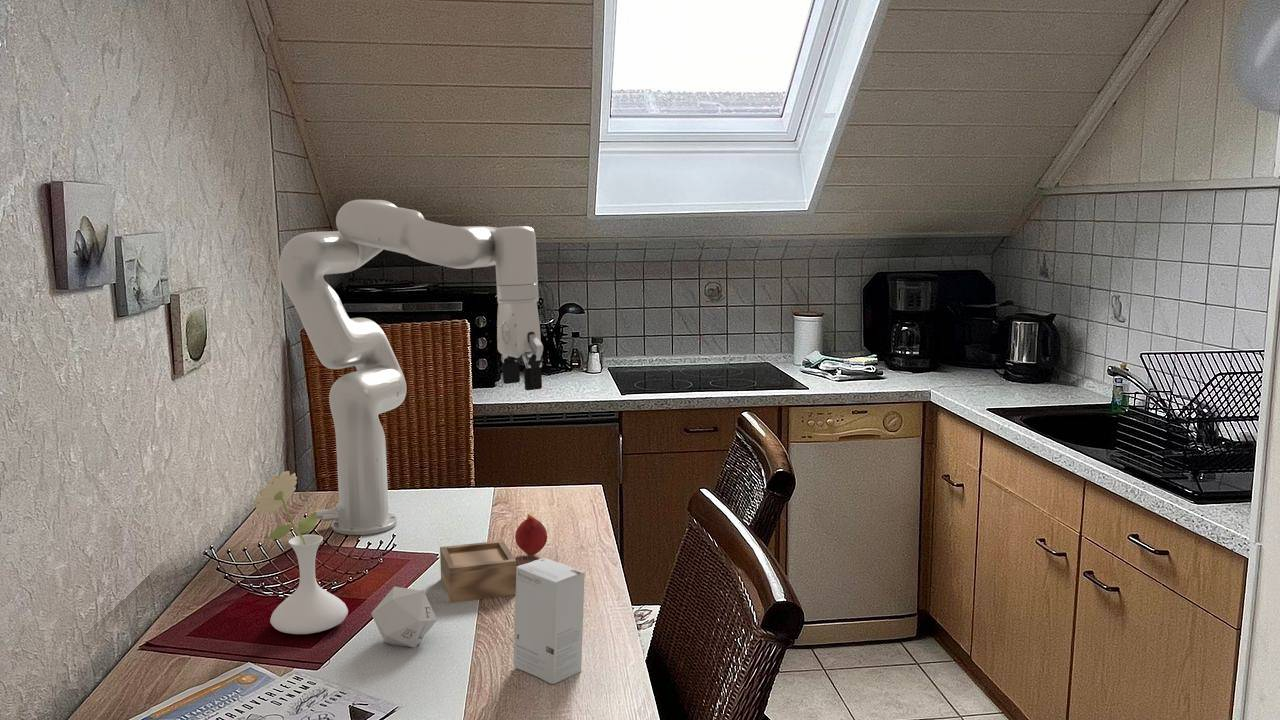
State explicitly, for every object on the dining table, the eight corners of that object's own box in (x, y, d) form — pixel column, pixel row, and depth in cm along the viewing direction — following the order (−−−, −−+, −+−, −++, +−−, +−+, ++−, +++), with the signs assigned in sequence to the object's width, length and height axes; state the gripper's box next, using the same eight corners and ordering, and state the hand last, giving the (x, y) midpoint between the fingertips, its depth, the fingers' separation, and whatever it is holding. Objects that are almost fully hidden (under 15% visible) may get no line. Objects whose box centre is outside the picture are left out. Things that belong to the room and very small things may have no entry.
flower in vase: (326, 605, 161) (319, 454, 157) (362, 626, 153) (355, 468, 149) (247, 628, 152) (237, 469, 148) (280, 652, 144) (271, 484, 140)
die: (388, 664, 142) (428, 609, 142) (350, 624, 145) (389, 571, 145) (418, 660, 149) (456, 609, 149) (381, 623, 153) (418, 572, 153)
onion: (549, 551, 187) (549, 509, 185) (544, 561, 181) (543, 519, 180) (519, 550, 187) (518, 509, 186) (512, 560, 182) (511, 518, 180)
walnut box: (450, 602, 162) (449, 568, 161) (440, 579, 172) (439, 547, 172) (516, 594, 166) (516, 560, 165) (503, 571, 176) (503, 540, 175)
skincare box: (512, 668, 139) (510, 566, 137) (543, 654, 144) (542, 555, 141) (555, 686, 134) (554, 581, 131) (586, 671, 138) (585, 568, 136)
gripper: (480, 293, 188) (485, 382, 190) (518, 297, 173) (523, 394, 176) (517, 290, 192) (521, 378, 194) (557, 294, 177) (561, 389, 179)
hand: (522, 386), depth 185 cm, fingers open, 9 cm apart
